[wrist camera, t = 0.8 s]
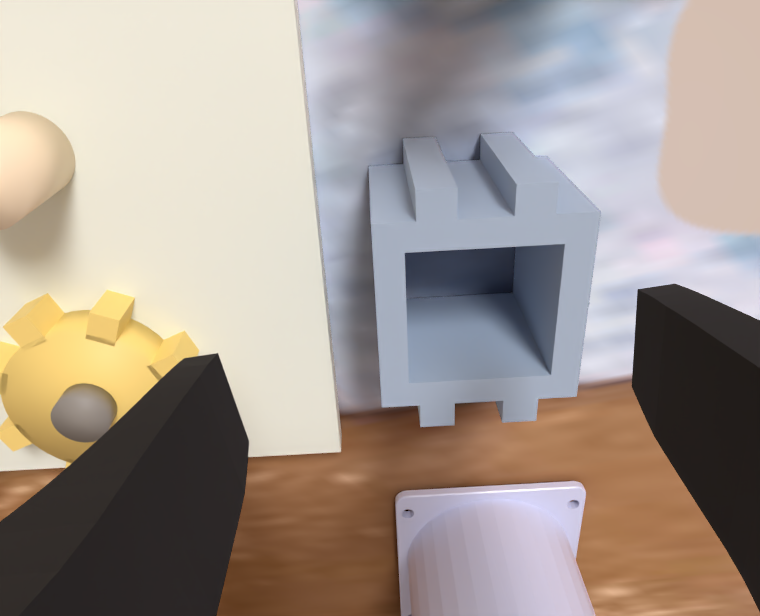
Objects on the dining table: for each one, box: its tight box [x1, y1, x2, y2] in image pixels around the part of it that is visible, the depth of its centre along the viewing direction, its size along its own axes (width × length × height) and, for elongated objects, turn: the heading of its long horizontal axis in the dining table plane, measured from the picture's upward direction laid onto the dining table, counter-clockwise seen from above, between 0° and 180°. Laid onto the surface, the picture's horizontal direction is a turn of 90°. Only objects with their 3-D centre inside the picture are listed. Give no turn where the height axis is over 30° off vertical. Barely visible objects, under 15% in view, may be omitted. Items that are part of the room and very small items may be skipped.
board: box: [0, 0, 342, 471], centre depth 18 cm, size 18×16×4 cm
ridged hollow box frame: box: [369, 132, 601, 427], centre depth 18 cm, size 7×6×5 cm
